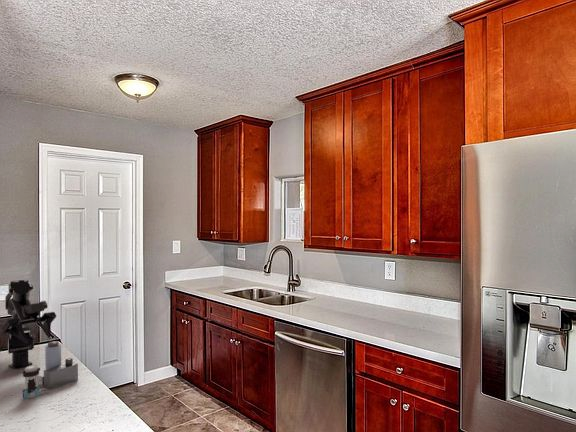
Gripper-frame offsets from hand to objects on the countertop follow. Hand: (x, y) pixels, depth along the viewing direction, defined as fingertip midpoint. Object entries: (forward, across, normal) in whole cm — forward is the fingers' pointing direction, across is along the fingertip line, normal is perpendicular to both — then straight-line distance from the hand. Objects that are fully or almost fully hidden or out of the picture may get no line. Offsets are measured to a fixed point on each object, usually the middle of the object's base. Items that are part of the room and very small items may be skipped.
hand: (38, 339), depth 164 cm
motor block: (+19, -1, -1) cm, 19 cm away
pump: (+18, -1, +1) cm, 18 cm away
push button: (+23, -12, -3) cm, 26 cm away
